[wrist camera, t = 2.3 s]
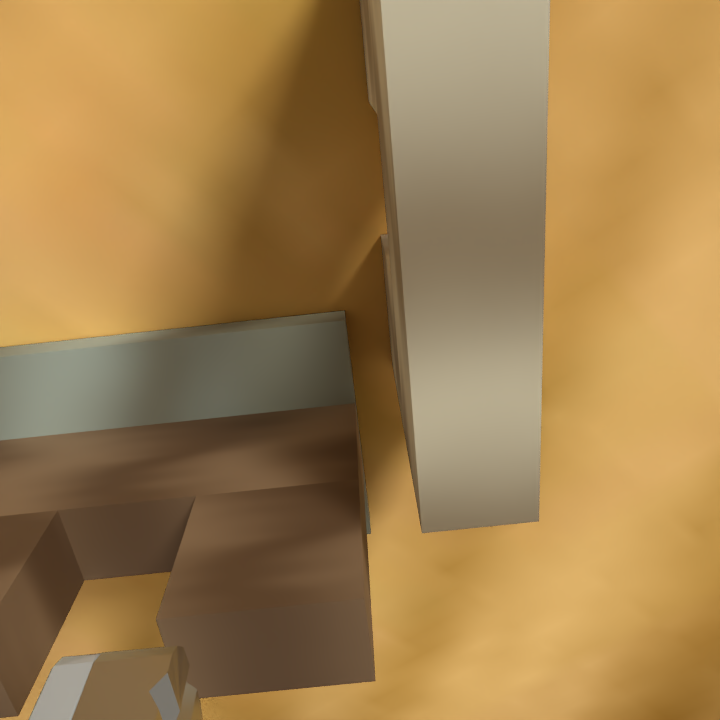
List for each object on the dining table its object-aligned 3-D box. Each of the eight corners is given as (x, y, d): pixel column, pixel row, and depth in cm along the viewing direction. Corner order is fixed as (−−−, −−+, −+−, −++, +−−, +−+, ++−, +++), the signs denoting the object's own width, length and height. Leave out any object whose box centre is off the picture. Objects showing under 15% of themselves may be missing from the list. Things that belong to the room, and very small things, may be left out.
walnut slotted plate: (344, 310, 20) (348, 484, 12) (369, 518, 23) (386, 763, 15) (-43, 352, 20) (-301, 550, 12) (39, 552, 23) (-118, 811, 15)
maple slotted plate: (351, -87, 15) (363, -219, 8) (452, -99, 15) (554, -241, 8) (392, 364, 20) (421, 533, 13) (467, 356, 20) (539, 520, 13)
